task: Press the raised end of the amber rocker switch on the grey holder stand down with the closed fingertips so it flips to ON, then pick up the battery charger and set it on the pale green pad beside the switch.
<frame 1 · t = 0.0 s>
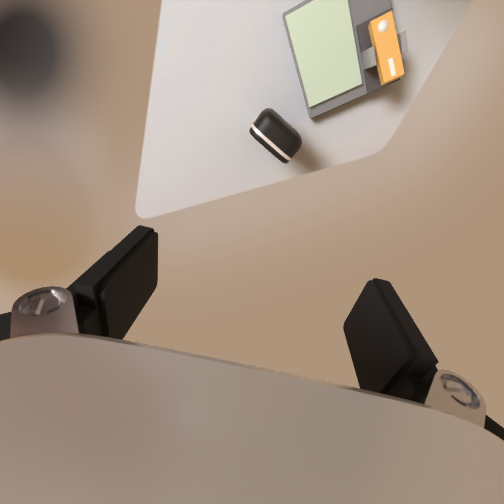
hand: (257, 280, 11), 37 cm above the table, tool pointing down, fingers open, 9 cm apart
grey holder stand: (339, 50, 36), on the table
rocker: (386, 50, 31), point 5 cm above the table, hinge at -14.0°
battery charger: (277, 128, 42), on the table
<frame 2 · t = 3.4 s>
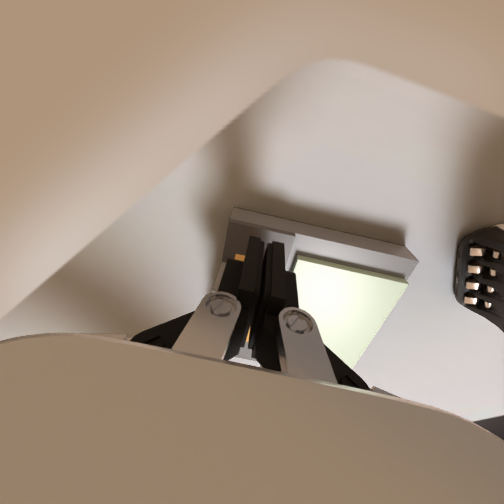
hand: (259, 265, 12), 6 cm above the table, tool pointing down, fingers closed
grey holder stand: (294, 296, 21), on the table
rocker: (245, 304, 15), point 5 cm above the table, hinge at -14.0°, touching gripper
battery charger: (470, 264, 19), on the table
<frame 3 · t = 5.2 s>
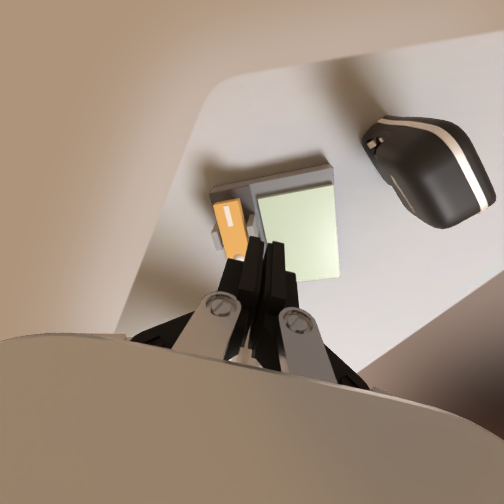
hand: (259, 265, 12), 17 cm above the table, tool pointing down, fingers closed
grey holder stand: (279, 230, 30), on the table
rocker: (234, 235, 25), point 5 cm above the table, hinge at 7.7°
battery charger: (383, 155, 25), on the table
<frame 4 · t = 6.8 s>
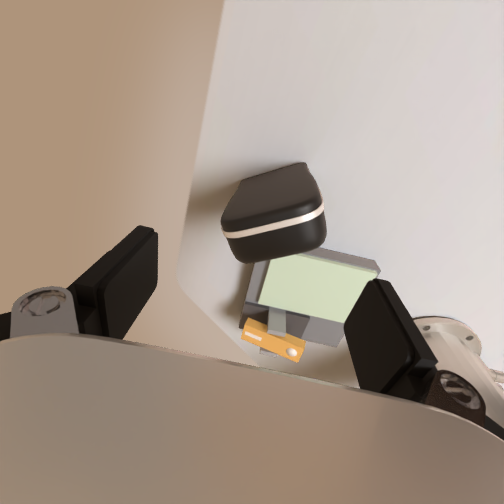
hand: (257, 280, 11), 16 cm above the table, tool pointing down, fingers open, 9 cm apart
grey holder stand: (301, 290, 31), on the table
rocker: (272, 339, 29), point 5 cm above the table, hinge at 13.0°
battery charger: (277, 188, 26), on the table
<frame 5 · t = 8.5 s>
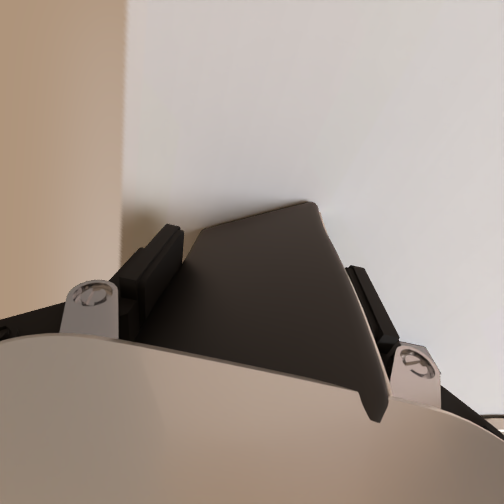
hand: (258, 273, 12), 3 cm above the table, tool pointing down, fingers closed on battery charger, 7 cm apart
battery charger: (264, 241, 15), on the table, touching gripper
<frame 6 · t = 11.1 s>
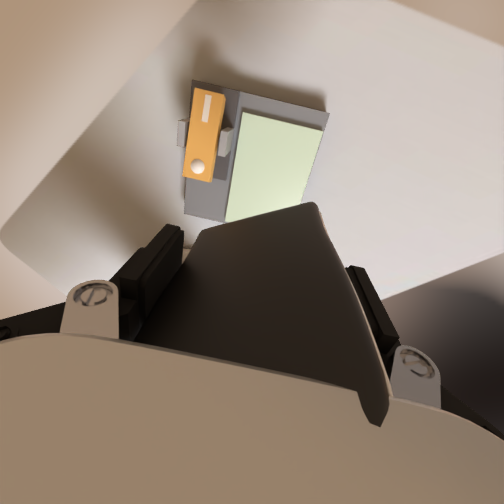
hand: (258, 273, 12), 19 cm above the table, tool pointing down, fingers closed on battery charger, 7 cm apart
grey holder stand: (249, 165, 28), on the table
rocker: (203, 138, 22), point 5 cm above the table, hinge at 15.3°
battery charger: (264, 241, 15), point 15 cm above the table, touching gripper
when the fingers open (7 cm above the table, at t = 13.7 s): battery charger drops 1 cm, resting on grey holder stand.
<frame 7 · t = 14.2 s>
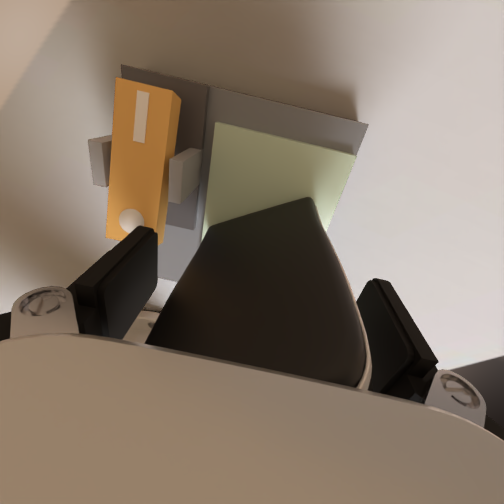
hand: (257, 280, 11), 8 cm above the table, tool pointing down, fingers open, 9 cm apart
grey holder stand: (233, 202, 18), on the table
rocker: (142, 170, 12), point 5 cm above the table, hinge at 15.4°
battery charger: (266, 234, 16), point 2 cm above the table, touching grey holder stand
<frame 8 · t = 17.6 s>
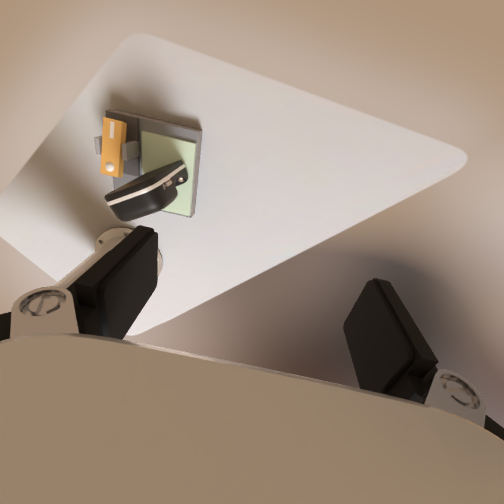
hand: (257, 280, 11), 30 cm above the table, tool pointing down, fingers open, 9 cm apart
grey holder stand: (158, 166, 39), on the table
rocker: (113, 148, 34), point 5 cm above the table, hinge at 15.4°
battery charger: (169, 178, 38), point 2 cm above the table, touching grey holder stand
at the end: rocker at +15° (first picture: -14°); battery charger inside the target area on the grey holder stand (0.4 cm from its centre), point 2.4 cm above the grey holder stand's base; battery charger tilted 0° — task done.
